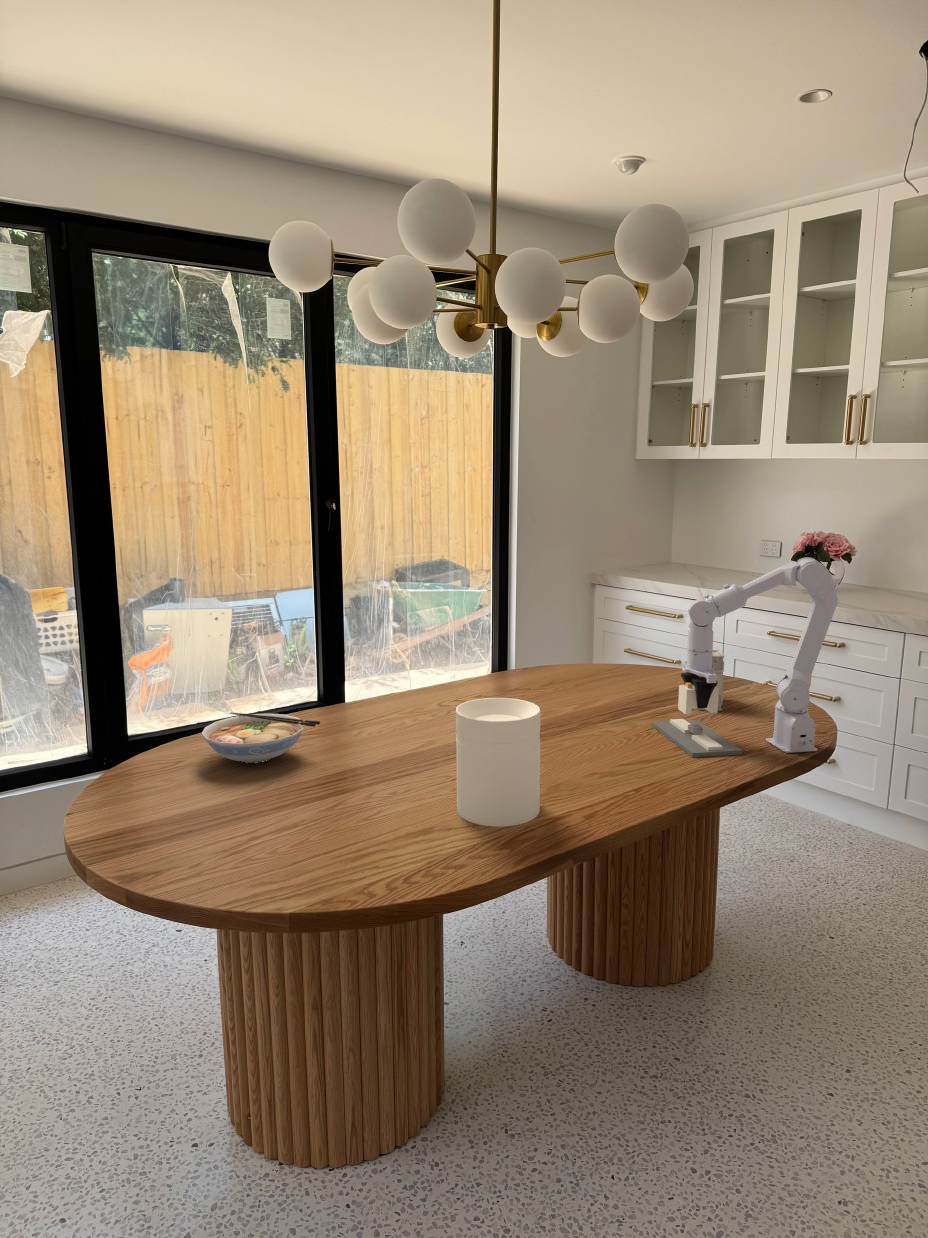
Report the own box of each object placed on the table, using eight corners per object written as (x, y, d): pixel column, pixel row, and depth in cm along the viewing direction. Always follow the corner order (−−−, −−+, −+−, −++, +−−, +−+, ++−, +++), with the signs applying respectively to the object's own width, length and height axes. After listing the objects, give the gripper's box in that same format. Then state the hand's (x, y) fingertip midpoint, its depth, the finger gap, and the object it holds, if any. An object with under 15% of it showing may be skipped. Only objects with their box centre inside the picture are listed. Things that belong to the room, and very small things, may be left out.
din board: (741, 754, 188) (742, 746, 187) (692, 757, 186) (692, 749, 186) (696, 723, 211) (697, 716, 211) (652, 726, 209) (652, 719, 209)
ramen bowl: (177, 766, 183) (175, 731, 182) (246, 737, 203) (244, 705, 202) (266, 783, 172) (264, 746, 171) (330, 751, 193) (328, 717, 191)
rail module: (717, 713, 196) (718, 684, 195) (685, 714, 195) (687, 685, 194) (709, 707, 201) (710, 680, 199) (678, 709, 199) (679, 681, 198)
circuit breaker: (711, 696, 237) (713, 645, 234) (721, 710, 223) (724, 656, 220) (685, 695, 238) (687, 645, 235) (693, 709, 224) (695, 655, 221)
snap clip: (702, 732, 197) (702, 727, 197) (692, 733, 197) (693, 728, 196) (697, 728, 200) (697, 724, 200) (687, 729, 200) (687, 724, 199)
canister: (556, 809, 158) (558, 708, 155) (500, 834, 147) (499, 727, 144) (496, 787, 169) (496, 693, 166) (439, 809, 158) (438, 709, 155)
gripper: (672, 644, 202) (669, 697, 204) (697, 657, 188) (694, 714, 190) (699, 643, 203) (696, 696, 205) (726, 655, 189) (723, 712, 191)
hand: (697, 705), depth 198 cm, fingers closed on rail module, 4 cm apart
